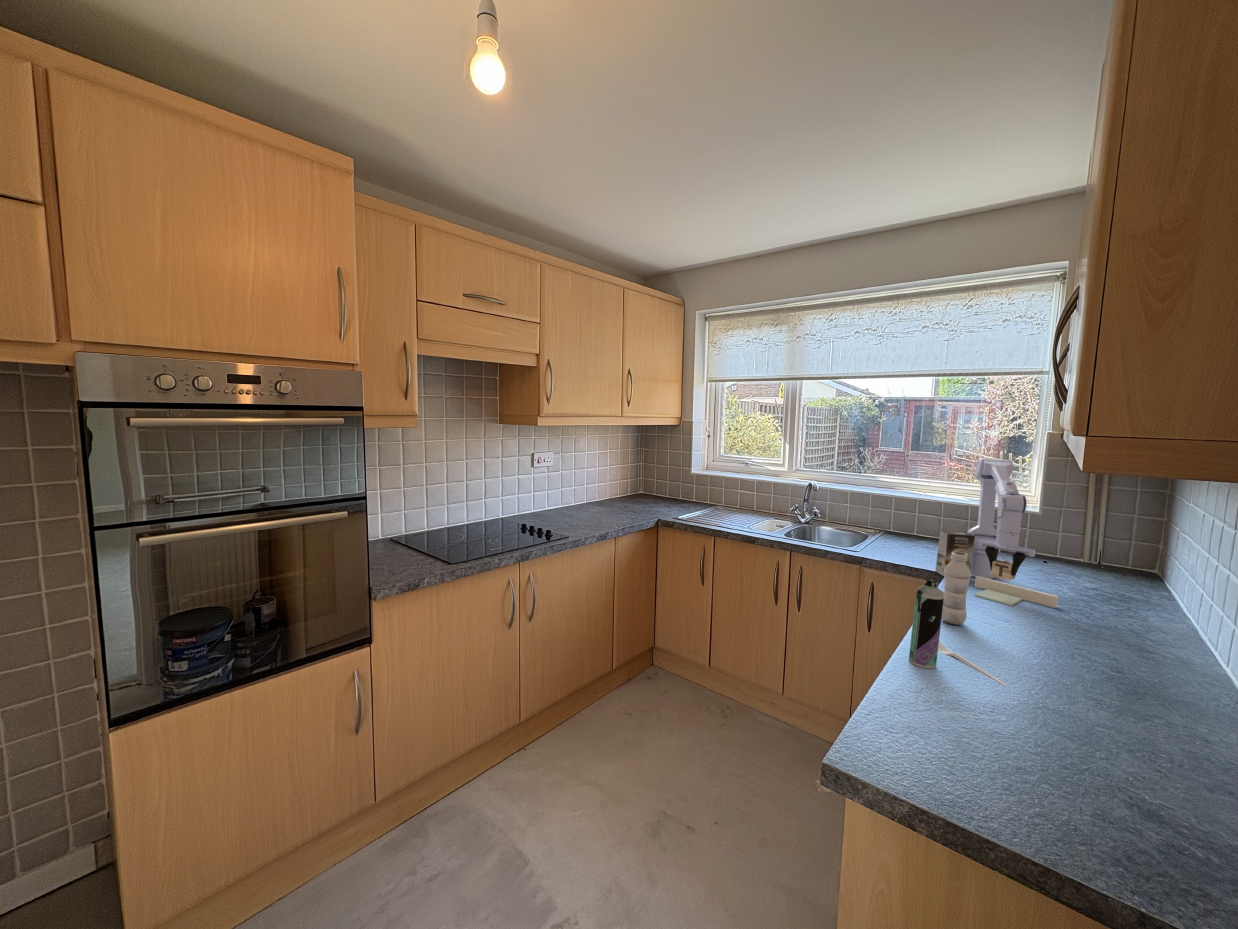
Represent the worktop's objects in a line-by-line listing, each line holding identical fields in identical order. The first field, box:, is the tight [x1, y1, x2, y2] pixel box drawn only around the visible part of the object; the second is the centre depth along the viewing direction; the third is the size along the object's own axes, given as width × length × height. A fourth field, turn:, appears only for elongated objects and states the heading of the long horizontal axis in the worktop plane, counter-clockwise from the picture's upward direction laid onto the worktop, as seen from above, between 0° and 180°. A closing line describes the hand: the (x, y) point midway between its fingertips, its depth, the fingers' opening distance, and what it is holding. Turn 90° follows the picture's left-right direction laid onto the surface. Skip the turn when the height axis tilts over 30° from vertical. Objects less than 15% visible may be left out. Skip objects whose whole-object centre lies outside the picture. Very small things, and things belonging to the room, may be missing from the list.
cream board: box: [974, 576, 1059, 609], centre depth 168 cm, size 2×22×4 cm, turn 36°
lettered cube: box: [991, 558, 1016, 582], centre depth 165 cm, size 5×5×5 cm
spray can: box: [908, 579, 944, 670], centre depth 117 cm, size 6×6×20 cm
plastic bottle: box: [941, 552, 972, 626], centre depth 142 cm, size 6×7×20 cm
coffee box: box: [934, 529, 975, 577], centre depth 188 cm, size 9×6×16 cm
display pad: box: [974, 589, 1023, 607], centre depth 165 cm, size 10×10×1 cm
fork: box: [938, 640, 1009, 687], centre depth 119 cm, size 3×20×2 cm, turn 12°
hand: (1003, 572), depth 165 cm, fingers closed on lettered cube, 5 cm apart
